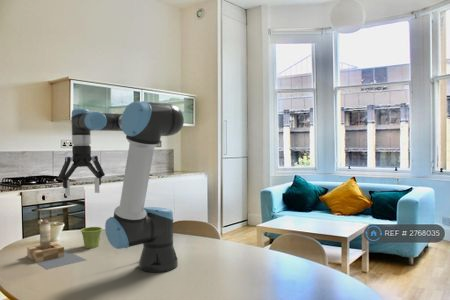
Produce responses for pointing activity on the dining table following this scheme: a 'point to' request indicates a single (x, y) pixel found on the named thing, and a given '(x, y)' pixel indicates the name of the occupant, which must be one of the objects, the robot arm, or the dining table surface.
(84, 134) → the robot arm
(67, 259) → the mat
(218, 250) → the dining table surface
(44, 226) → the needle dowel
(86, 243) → the plant pot
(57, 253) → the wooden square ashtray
